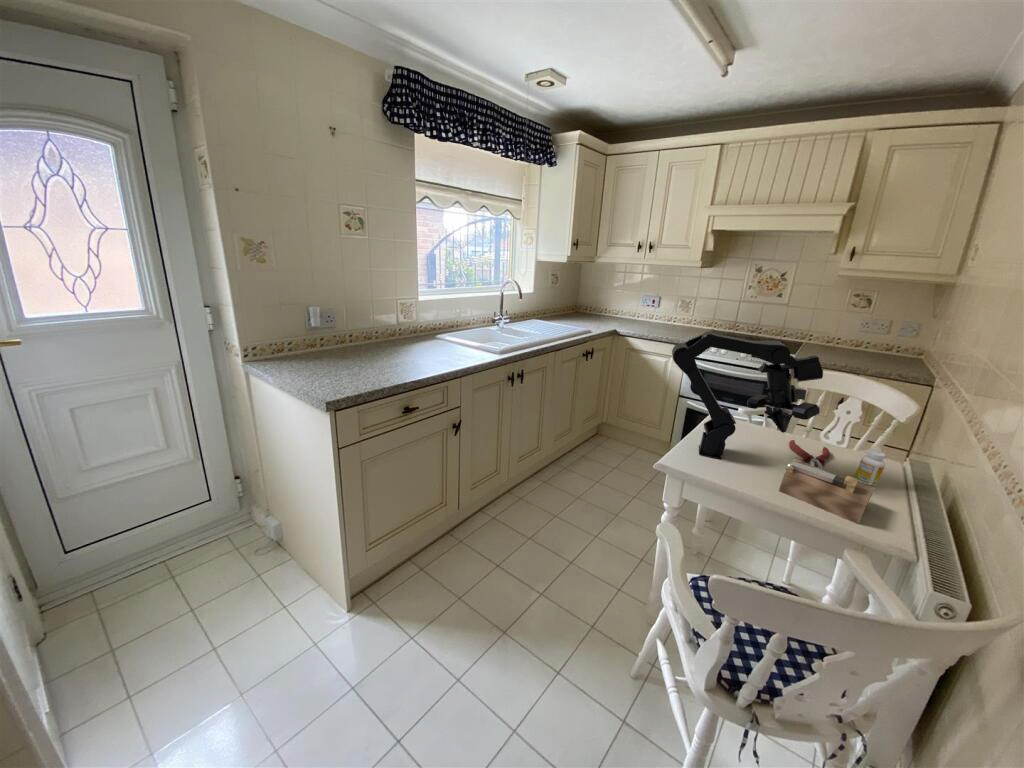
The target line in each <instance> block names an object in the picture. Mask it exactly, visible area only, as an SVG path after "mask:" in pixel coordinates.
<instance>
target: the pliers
mask: <svg viewBox="0 0 1024 768" xmlns="http://www.w3.org/2000/svg"><path fill="white" fill-rule="evenodd" d="M788 445H789V449H790V450H791V451H792V452H793V453H795V454H796V455H798V456H799V458H801V459H802V461H801V462H803V461H804V462H803V463H807V464H809V465H811V466H814V467H816V466H817V468H819V469H822V470H824V469H823V467H824V466H825V464H826V461H827V460H828V459H829V458H830V457H831V452H830V450H829V448H828V447H826V446H823V448H822V450H821V451H823V452H822V454H820V455H818V456H816V457H814V456H813V455H812V454H809V453H808V452H807V451H805V450H804V449H803V448H801V447H800V446H798V445H797V443H796V441H795V439H791V440H790V441H788Z"/></svg>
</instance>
